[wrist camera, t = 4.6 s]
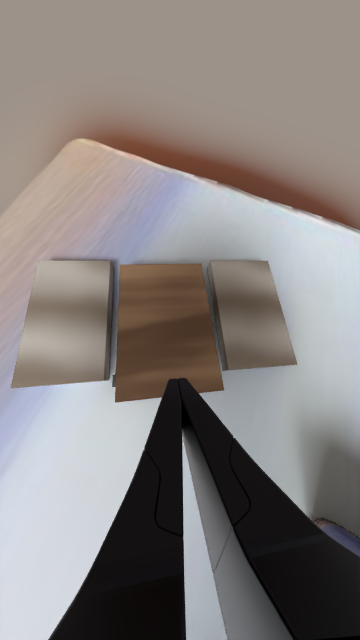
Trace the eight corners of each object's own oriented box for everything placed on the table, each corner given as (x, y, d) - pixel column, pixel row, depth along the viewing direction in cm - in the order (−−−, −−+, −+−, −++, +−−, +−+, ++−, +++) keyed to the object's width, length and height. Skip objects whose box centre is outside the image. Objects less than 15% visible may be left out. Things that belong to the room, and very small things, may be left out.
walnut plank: (224, 390, 13) (201, 263, 18) (115, 402, 12) (119, 264, 17) (213, 390, 16) (195, 281, 20) (123, 400, 15) (125, 282, 19)
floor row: (288, 371, 18) (299, 370, 17) (23, 394, 15) (9, 396, 13) (260, 268, 22) (267, 260, 21) (46, 269, 19) (37, 260, 17)
